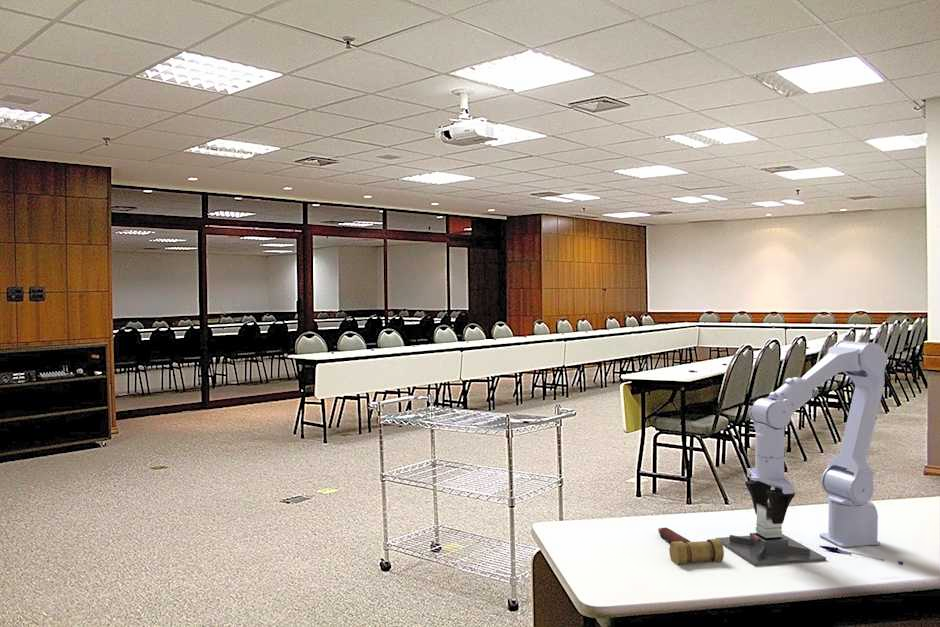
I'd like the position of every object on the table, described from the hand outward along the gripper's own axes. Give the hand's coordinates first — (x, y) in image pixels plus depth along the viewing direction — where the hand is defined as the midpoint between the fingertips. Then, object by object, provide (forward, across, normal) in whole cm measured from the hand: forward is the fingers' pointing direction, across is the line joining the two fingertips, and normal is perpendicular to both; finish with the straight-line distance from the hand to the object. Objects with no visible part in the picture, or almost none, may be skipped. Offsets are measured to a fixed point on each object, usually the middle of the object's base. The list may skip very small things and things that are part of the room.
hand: (769, 518), depth 167 cm
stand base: (+7, 0, 0) cm, 7 cm away
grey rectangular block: (+4, 0, 0) cm, 4 cm away
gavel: (+8, -6, -18) cm, 20 cm away
